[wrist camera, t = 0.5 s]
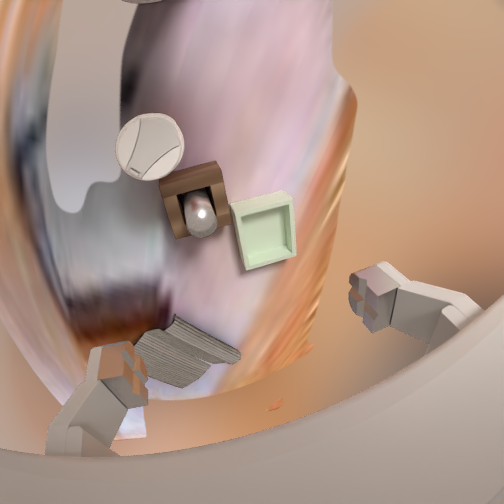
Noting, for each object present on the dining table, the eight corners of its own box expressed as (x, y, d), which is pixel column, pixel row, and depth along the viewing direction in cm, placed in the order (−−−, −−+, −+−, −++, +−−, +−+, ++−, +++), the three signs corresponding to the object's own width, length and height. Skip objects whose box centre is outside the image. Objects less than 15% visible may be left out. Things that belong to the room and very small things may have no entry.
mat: (114, 355, 61) (113, 370, 57) (173, 305, 57) (175, 321, 54) (179, 383, 75) (181, 397, 71) (239, 345, 71) (243, 359, 67)
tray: (229, 203, 48) (235, 213, 44) (284, 190, 49) (292, 198, 46) (240, 258, 55) (246, 270, 52) (288, 244, 56) (296, 255, 53)
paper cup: (160, 163, 40) (158, 196, 29) (120, 139, 36) (100, 163, 25) (190, 122, 38) (200, 138, 27) (149, 96, 34) (140, 99, 23)
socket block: (159, 175, 41) (158, 186, 37) (215, 160, 43) (221, 169, 39) (174, 224, 47) (175, 239, 43) (225, 210, 48) (232, 223, 44)
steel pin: (179, 185, 43) (183, 215, 35) (203, 179, 44) (213, 206, 35) (185, 207, 46) (191, 241, 37) (208, 201, 46) (219, 233, 37)
